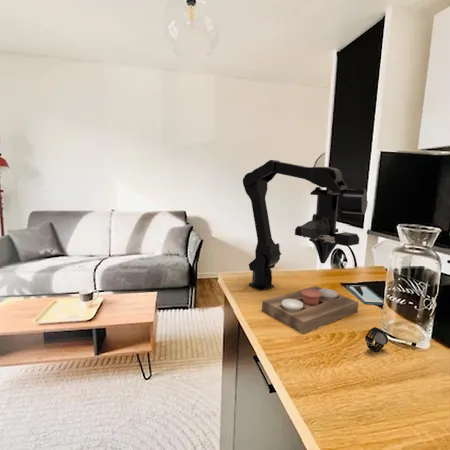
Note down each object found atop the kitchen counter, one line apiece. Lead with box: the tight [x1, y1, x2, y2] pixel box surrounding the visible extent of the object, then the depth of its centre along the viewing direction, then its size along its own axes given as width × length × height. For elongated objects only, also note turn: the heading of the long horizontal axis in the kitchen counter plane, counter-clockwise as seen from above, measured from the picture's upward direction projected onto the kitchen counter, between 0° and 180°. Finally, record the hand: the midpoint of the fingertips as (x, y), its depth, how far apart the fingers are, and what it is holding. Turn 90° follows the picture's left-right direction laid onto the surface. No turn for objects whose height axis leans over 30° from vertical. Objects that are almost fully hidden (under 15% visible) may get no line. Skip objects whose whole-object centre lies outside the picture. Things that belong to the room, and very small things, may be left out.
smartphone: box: [345, 284, 384, 306], centre depth 98 cm, size 7×1×15 cm
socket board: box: [261, 285, 359, 335], centre depth 85 cm, size 15×23×3 cm, turn 124°
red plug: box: [300, 287, 322, 306], centre depth 84 cm, size 6×6×4 cm
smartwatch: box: [364, 326, 389, 353], centre depth 66 cm, size 4×5×5 cm
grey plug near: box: [282, 299, 303, 313], centre depth 80 cm, size 6×6×4 cm
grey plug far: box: [319, 288, 339, 301], centre depth 89 cm, size 6×6×4 cm
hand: (322, 263), depth 89 cm, fingers closed
